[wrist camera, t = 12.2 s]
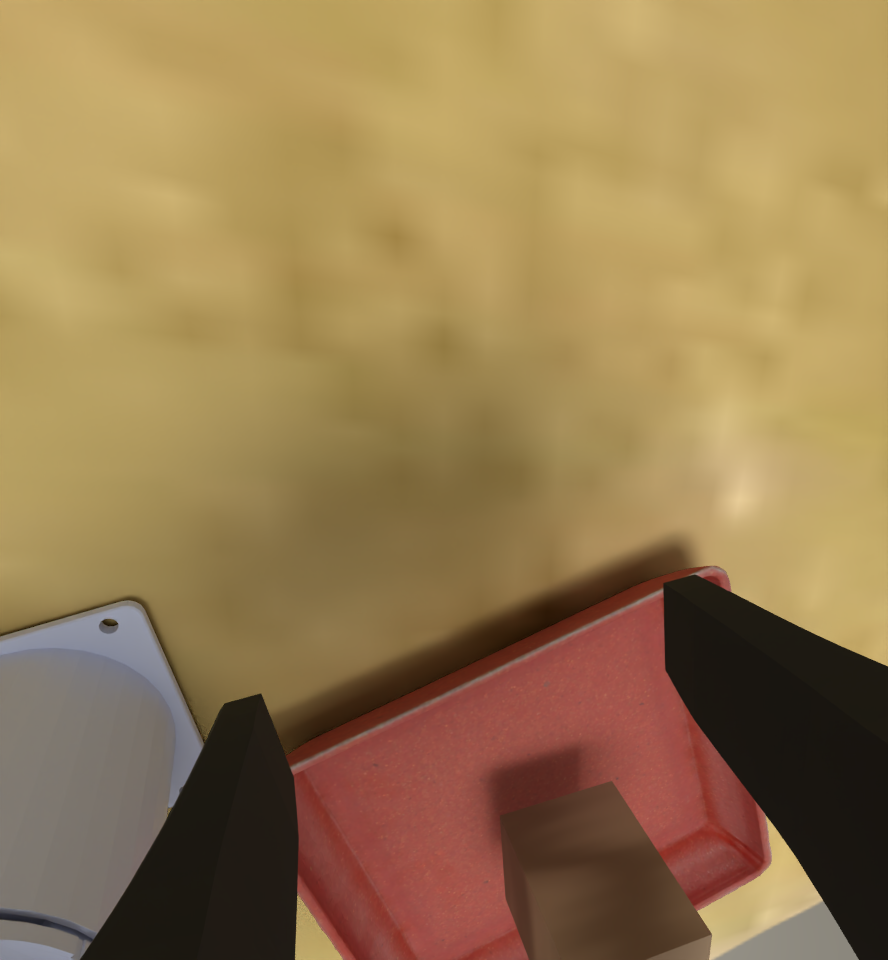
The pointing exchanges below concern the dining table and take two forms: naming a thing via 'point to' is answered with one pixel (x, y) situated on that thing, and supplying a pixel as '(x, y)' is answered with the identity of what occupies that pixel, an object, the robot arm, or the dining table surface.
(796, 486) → the dining table surface
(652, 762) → the plant saucer
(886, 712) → the robot arm
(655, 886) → the walnut block
